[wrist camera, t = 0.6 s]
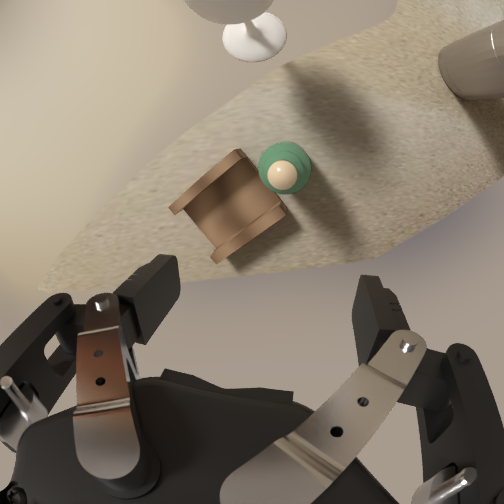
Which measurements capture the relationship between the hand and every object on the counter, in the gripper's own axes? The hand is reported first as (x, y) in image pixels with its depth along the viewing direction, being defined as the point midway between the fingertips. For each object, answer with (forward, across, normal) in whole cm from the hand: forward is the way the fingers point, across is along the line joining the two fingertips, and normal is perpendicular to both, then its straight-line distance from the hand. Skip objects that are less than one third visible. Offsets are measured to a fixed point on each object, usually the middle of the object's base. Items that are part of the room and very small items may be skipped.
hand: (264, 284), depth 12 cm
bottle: (+28, +1, -2) cm, 28 cm away
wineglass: (+28, +6, -20) cm, 35 cm away
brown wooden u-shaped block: (+27, +9, +4) cm, 29 cm away
